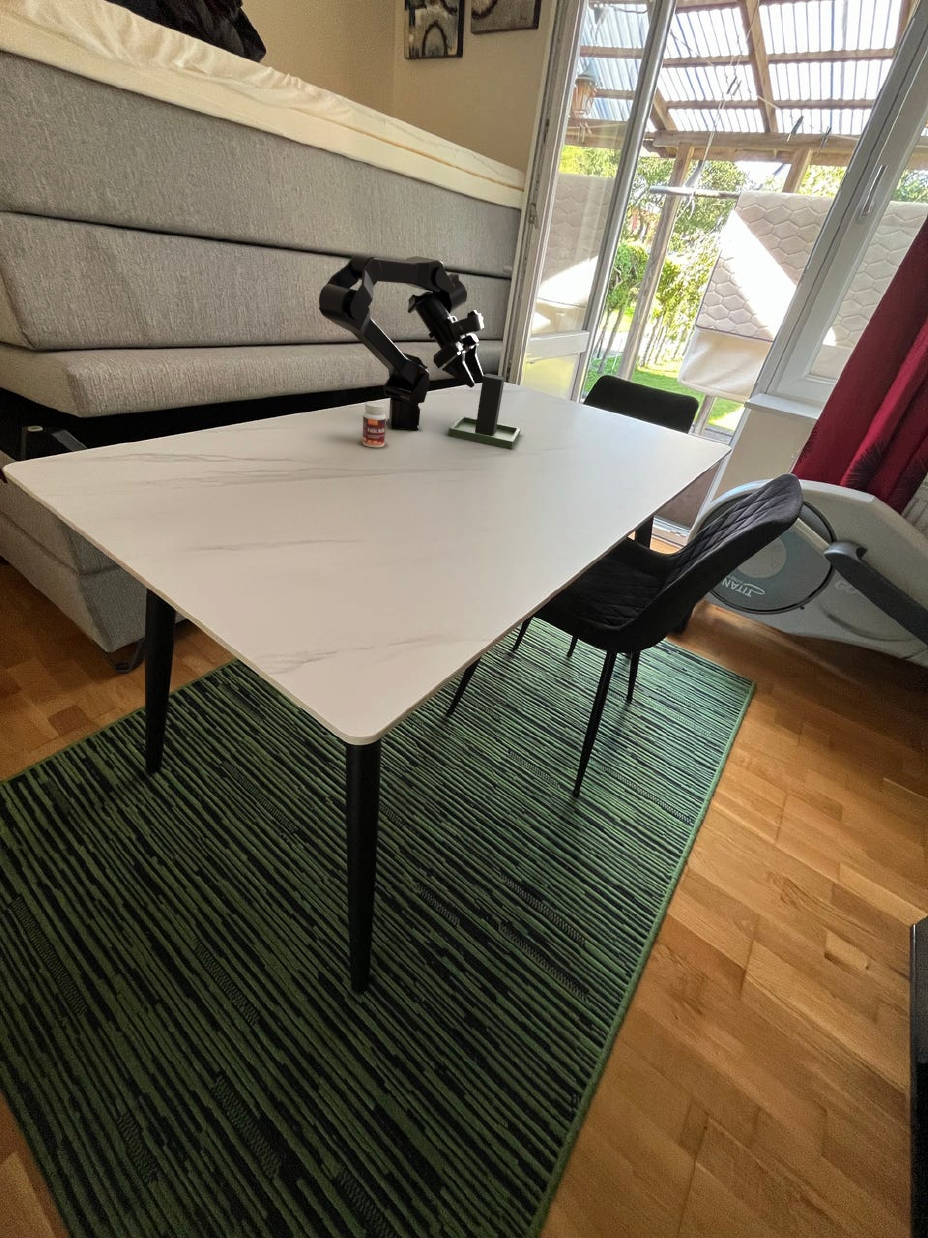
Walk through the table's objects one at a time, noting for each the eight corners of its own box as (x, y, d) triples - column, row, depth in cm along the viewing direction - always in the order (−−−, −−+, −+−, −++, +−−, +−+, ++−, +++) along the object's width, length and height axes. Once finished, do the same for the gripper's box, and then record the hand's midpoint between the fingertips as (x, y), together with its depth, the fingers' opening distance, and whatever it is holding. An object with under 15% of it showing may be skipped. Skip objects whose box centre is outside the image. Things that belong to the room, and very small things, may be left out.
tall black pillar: (474, 433, 126) (483, 376, 119) (478, 428, 129) (486, 373, 122) (492, 436, 126) (502, 379, 118) (495, 432, 129) (505, 376, 121)
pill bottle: (366, 448, 109) (367, 407, 104) (359, 440, 112) (360, 400, 107) (387, 447, 111) (389, 407, 106) (380, 440, 114) (381, 400, 109)
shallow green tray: (448, 435, 124) (449, 427, 123) (461, 422, 134) (462, 415, 133) (511, 449, 122) (512, 441, 121) (519, 435, 132) (520, 428, 131)
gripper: (454, 298, 105) (497, 367, 110) (475, 293, 119) (513, 355, 125) (414, 334, 110) (457, 398, 115) (440, 325, 125) (476, 383, 130)
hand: (477, 382), depth 121 cm, fingers open, 9 cm apart
